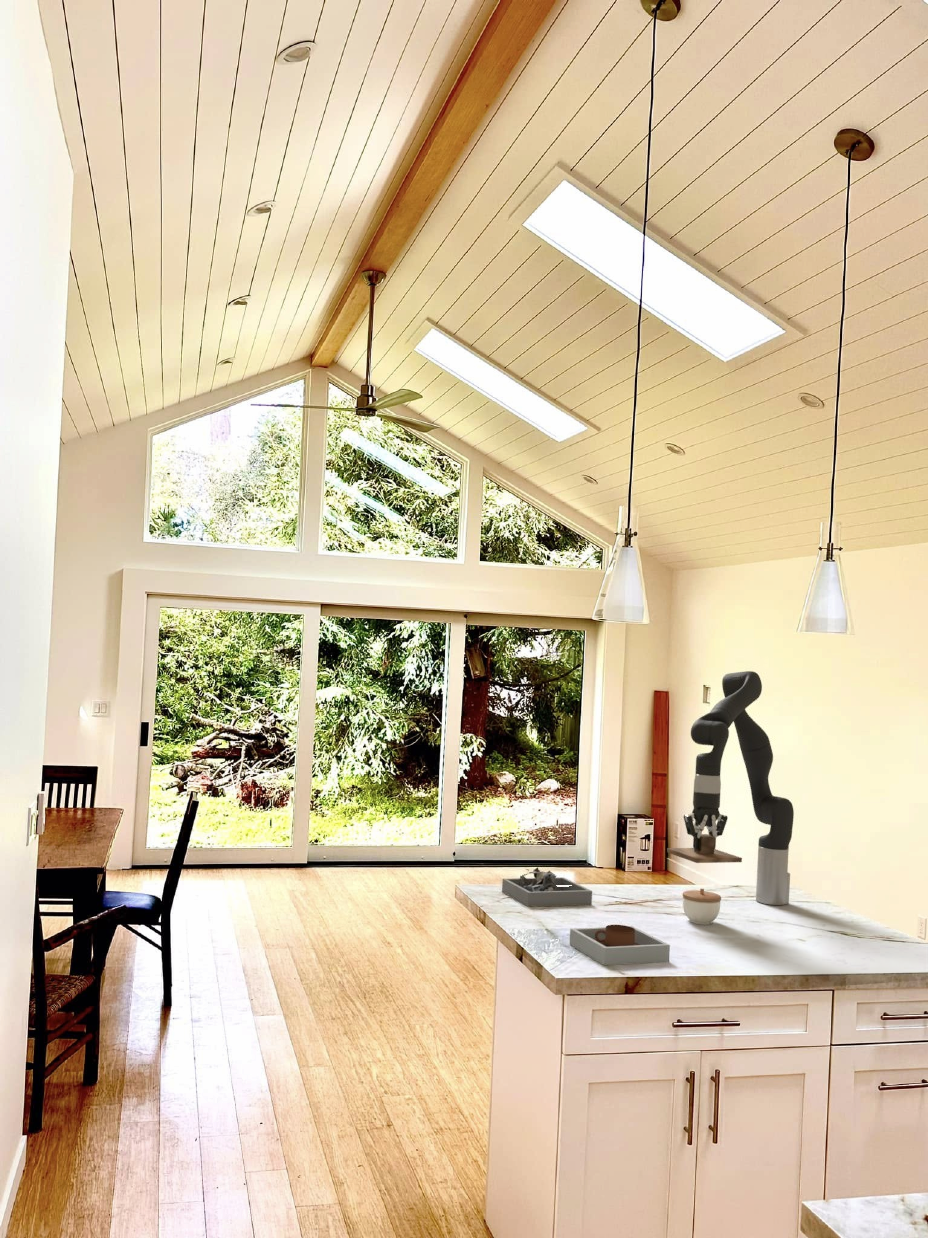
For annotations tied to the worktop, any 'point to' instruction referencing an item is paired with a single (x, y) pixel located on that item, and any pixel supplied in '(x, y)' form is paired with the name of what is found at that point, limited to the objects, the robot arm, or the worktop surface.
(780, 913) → the worktop surface
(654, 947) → the grey square tray
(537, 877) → the foil
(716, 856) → the walnut lid
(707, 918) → the lidded jar
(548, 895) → the foil frame
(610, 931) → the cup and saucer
